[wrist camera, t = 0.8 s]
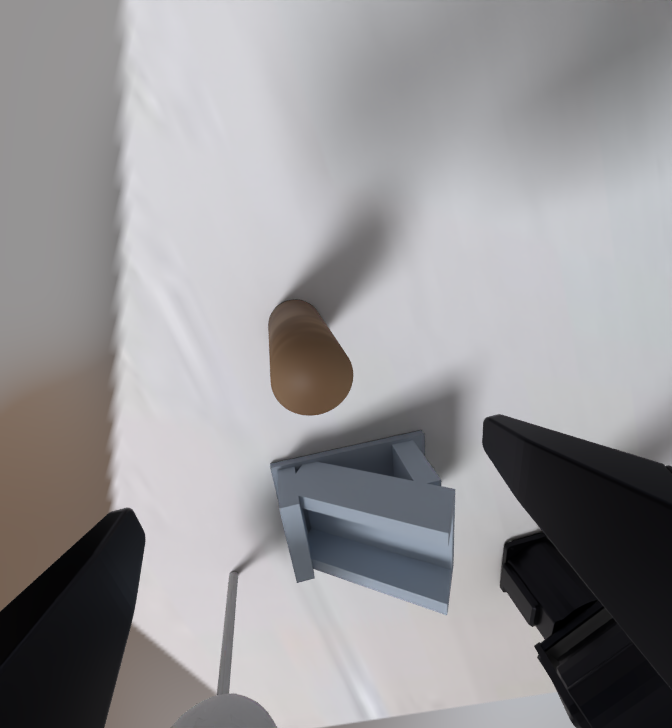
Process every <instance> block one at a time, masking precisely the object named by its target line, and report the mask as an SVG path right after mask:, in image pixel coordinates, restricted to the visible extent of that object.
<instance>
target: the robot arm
mask: <svg viewBox="0 0 672 728" xmlns="http://www.w3.org/2000/svg"><path fill="white" fill-rule="evenodd" d="M482 444H483V448H484V450H485V452H486V454H487V455H488V457H489V458H490V460H491V461H492V463H493V464H494V466H495V467H496V469H497V470H498V472H499V473H500V475H501V476H502V478H503V479H504V481H505V482H506V484H507V485H508V487H509V488H510V490H511V491H512V493H513V494H514V496H515V497H516V498H517V500H518V501H519V502H520V504H521V505H522V506H523V508H524V509H525V510H526V511H527V512H528V514H529V515H530V516H531V517H532V519H533V520H534V521H535V522H536V524H537V525H538V526H539V527H540V528H541V530H542V531H543V532H544V533H540V534H537V535H533V536H530V537H526V538H522V539H519V540H515V541H512V542H509V543H507V544H506V545H505V546H504V553H503V562H502V571H501V581H500V588H501V590H502V591H503V592H507V593H508V595H509V596H510V598H511V599H512V601H513V602H514V604H515V605H516V607H517V608H518V609H519V611H520V612H521V614H522V615H523V617H524V618H525V620H526V621H527V623H528V624H529V625H530V626H532V627H533V626H536V627H537V629H538V630H539V632H540V633H541V635H542V636H543V638H544V639H545V640H544V641H543V642H541V643H540V642H539V643H537V644H536V645H535V646H534V647H535V649H536V650H537V652H538V654H539V655H538V657H537V658H538V659H539V661H540V662H541V664H542V666H543V667H544V669H545V670H546V672H547V673H548V675H549V677H550V678H551V680H552V682H553V684H554V686H555V688H556V690H557V692H558V694H559V697H560V699H561V701H562V703H563V705H564V707H565V710H566V712H567V714H568V716H569V718H570V720H571V722H572V723H573V725H574V726H575V727H576V728H672V466H665V465H664V464H662V463H658V462H655V461H652V460H649V459H645V458H642V457H639V456H635V455H632V454H629V453H626V452H622V451H619V450H616V449H612V448H609V447H606V446H603V445H599V444H596V443H593V442H589V441H586V440H583V439H580V438H576V437H573V436H570V435H567V434H563V433H560V432H557V431H553V430H550V429H547V428H544V427H540V426H537V425H534V424H530V423H527V422H524V421H521V420H517V419H514V418H511V417H508V416H504V415H501V414H498V415H493V416H489V417H486V418H485V419H484V422H483V438H482ZM144 547H145V533H144V530H143V528H142V526H141V524H140V523H139V521H138V519H137V517H136V515H135V513H134V511H133V510H132V509H131V508H124V509H120V510H116V511H112V512H110V513H108V514H107V515H106V516H105V517H104V518H103V519H102V520H101V521H100V522H98V523H97V524H96V525H95V526H94V527H93V528H92V529H91V530H90V531H89V532H87V533H86V534H85V535H84V536H83V537H82V538H81V539H80V540H79V541H77V542H76V543H75V544H74V545H73V546H72V547H71V548H70V549H69V550H68V551H66V552H65V553H64V554H63V555H62V556H61V557H60V558H59V559H58V560H57V561H55V562H54V563H53V564H52V565H51V566H50V567H49V568H48V569H47V570H46V571H44V572H43V573H42V574H41V575H40V576H39V577H38V578H37V579H36V580H35V581H33V583H31V584H30V585H29V586H28V587H27V588H26V589H25V590H24V591H22V592H21V593H20V594H19V595H18V596H17V597H16V598H15V599H14V600H12V601H11V602H10V603H9V604H8V605H7V606H6V607H5V608H4V609H3V610H1V611H0V728H104V727H105V723H106V719H107V715H108V712H109V707H110V704H111V700H112V696H113V692H114V688H115V685H116V681H117V677H118V673H119V669H120V666H121V662H122V658H123V654H124V650H125V646H126V643H127V639H128V635H129V631H130V627H131V623H132V619H133V615H134V610H135V605H136V599H137V593H138V586H139V580H140V573H141V567H142V560H143V554H144Z"/></svg>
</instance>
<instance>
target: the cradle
mask: <svg viewBox="0 0 672 728" xmlns="http://www.w3.org/2000/svg"><path fill="white" fill-rule="evenodd" d="M270 468H271V473H272V477H273V481H274V485H275V489H276V494H277V498H278V502H279V510H280V514H281V518H282V523H283V527H284V531H285V535H286V539H287V543H288V548H289V552H290V556H291V560H292V564H293V568H294V572H295V577H296V581H297V583H299V582H303V581H306V580H310V579H314V578H315V577H314V570H313V569H316V570H318V571H321V572H324V573H327V574H330V575H333V576H336V577H338V578H341V579H344V580H347V581H350V582H353V583H356V584H359V585H361V586H364V587H367V588H370V589H373V590H376V591H379V592H381V593H384V594H387V595H390V596H393V597H396V598H399V599H401V600H404V601H407V602H410V603H413V604H416V605H419V606H422V607H424V608H427V609H430V610H433V611H436V612H439V613H442V614H444V615H447V613H448V605H449V597H450V589H451V581H452V572H453V557H454V518H455V489H452V488H447V487H442V486H441V479H440V477H439V476H438V474H437V473H436V472H435V470H434V469H433V467H432V466H431V465H430V463H429V462H428V460H427V459H426V458H425V437H424V433H423V432H422V430H421V431H416V432H412V433H407V434H402V435H398V436H393V437H389V438H384V439H380V440H375V441H371V442H366V443H362V444H357V445H353V446H348V447H344V448H339V449H335V450H330V451H325V452H321V453H316V454H312V455H307V456H303V457H298V458H294V459H289V460H285V461H280V462H276V463H271V464H270Z"/></svg>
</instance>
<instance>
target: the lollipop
mask: <svg viewBox="0 0 672 728" xmlns="http://www.w3.org/2000/svg"><path fill="white" fill-rule="evenodd" d="M237 583H238V573H237V572H232V573H230V575H229V582H228V592H227V601H226V611H225V621H224V631H223V640H222V650H221V660H220V669H219V679H218V689H217V696H213V697H211V698H209V699H206V700H204V701H202V702H200V703H198V704H197V705H195V706H194V707H192V708H191V709H189V710H188V711H187V712H185V713H184V714H183V715H182V716H181V717H180V718H179V719H178V720H177V721H176V722H175V723H174V724H173V726H172V727H171V728H277V726H276V725H275V723H274V721H273V719H272V718H271V716H270V715H269V713H268V712H267V711H266V710H265V709H264V708H263V707H262V706H261V705H260V704H259V703H257V702H256V701H254V700H252V699H250V698H248V697H245V696H242V695H238V694H233V693H232V694H229V686H230V673H231V660H232V647H233V634H234V621H235V608H236V596H237Z"/></svg>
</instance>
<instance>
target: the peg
mask: <svg viewBox="0 0 672 728" xmlns="http://www.w3.org/2000/svg"><path fill="white" fill-rule="evenodd" d="M268 330H269V354H270V377H271V387H272V391H273V393H274V395H275V397H276V399H277V400H278V401H279V403H280V404H281V405H282V406H284V407H285V408H286V409H288V410H289V411H292V412H294V413H297V414H301V415H319V414H323V413H325V412H328V411H330V410H332V409H334V408H335V407H337V406H338V405H339V404H340V403H341V402H342V401H343V400H344V399H345V398H346V396H347V395H348V393H349V391H350V389H351V386H352V382H353V368H352V364H351V362H350V360H349V358H348V356H347V355H346V353H345V352H344V350H343V349H342V347H341V346H340V344H339V343H338V341H337V340H336V338H335V337H334V335H333V334H332V332H331V331H330V329H329V328H328V326H327V325H326V323H325V322H324V320H323V319H322V317H321V316H320V314H319V313H318V312H317V310H316V309H315V308H314V307H313V306H312V305H311V304H309V303H307V302H305V301H302V300H288V301H285V302H283V303H281V304H280V305H278V306H277V307H276V308H275V309H274V310H273V312H272V313H271V315H270V318H269V323H268Z"/></svg>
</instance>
